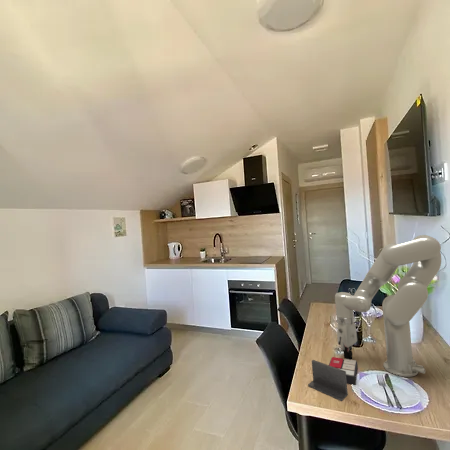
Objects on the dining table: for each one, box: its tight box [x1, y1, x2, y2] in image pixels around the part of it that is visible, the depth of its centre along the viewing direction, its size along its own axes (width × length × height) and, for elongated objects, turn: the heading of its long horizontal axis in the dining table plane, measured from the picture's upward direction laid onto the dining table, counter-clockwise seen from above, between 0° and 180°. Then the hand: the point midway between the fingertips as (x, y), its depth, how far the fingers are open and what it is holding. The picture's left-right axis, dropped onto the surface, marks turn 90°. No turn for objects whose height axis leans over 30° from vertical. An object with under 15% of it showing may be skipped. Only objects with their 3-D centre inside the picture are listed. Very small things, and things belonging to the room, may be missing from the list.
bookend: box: [307, 359, 349, 402], centre depth 108 cm, size 14×5×9 cm, turn 40°
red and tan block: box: [328, 356, 359, 386], centre depth 119 cm, size 11×4×15 cm
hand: (348, 358), depth 128 cm, fingers closed
